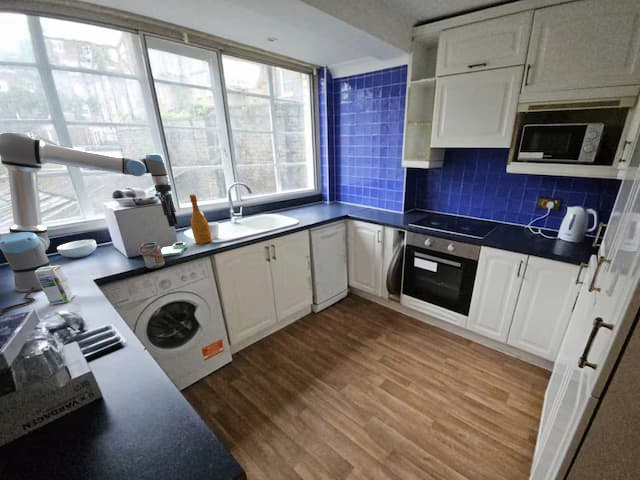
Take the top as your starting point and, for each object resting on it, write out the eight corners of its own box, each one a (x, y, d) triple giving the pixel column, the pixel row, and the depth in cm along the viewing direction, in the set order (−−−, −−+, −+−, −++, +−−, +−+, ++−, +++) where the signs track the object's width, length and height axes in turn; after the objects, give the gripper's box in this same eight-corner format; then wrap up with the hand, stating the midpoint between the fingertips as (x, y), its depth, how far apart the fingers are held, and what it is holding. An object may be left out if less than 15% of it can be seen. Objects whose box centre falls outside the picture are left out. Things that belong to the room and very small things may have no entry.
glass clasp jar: (156, 270, 147) (148, 247, 142) (140, 269, 148) (133, 247, 143) (169, 263, 155) (162, 241, 150) (154, 262, 156) (147, 241, 151)
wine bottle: (200, 245, 182) (188, 196, 170) (192, 242, 187) (179, 195, 175) (215, 241, 190) (204, 193, 178) (206, 238, 195) (195, 192, 183)
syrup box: (49, 305, 116) (32, 272, 110) (57, 298, 121) (41, 266, 115) (68, 302, 118) (52, 269, 112) (74, 295, 123) (59, 264, 117)
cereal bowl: (68, 253, 174) (63, 242, 171) (103, 248, 180) (99, 237, 177) (56, 262, 160) (50, 250, 157) (94, 257, 166) (89, 245, 163)
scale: (182, 254, 168) (180, 249, 167) (156, 257, 164) (155, 252, 163) (188, 246, 180) (186, 241, 179) (164, 249, 177) (163, 244, 176)
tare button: (182, 245, 174) (181, 242, 174) (174, 246, 173) (173, 243, 173) (183, 243, 178) (183, 241, 177) (176, 244, 177) (175, 241, 176)
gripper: (164, 185, 154) (176, 228, 164) (174, 181, 171) (184, 220, 180) (148, 186, 152) (161, 229, 162) (159, 182, 169) (170, 222, 178)
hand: (173, 225), depth 171 cm, fingers open, 5 cm apart
